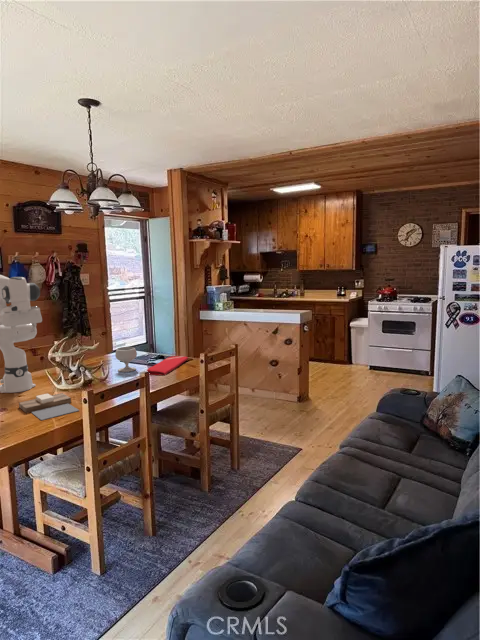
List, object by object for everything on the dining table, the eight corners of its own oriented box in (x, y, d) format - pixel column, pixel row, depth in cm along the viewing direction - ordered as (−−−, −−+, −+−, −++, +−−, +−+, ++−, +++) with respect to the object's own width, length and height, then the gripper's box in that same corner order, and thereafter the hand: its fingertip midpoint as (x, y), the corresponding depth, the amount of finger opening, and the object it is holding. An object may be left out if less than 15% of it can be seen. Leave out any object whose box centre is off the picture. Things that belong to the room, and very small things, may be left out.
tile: (36, 399, 225) (35, 395, 224) (48, 397, 229) (47, 393, 228) (41, 403, 218) (41, 399, 218) (54, 400, 222) (53, 397, 222)
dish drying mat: (142, 375, 280) (142, 369, 279) (169, 360, 319) (168, 355, 318) (165, 376, 276) (164, 370, 275) (189, 361, 315) (188, 356, 314)
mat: (31, 412, 212) (31, 411, 212) (68, 403, 224) (67, 403, 224) (41, 420, 201) (41, 419, 201) (79, 410, 213) (79, 410, 213)
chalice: (141, 369, 291) (140, 348, 289) (123, 374, 281) (122, 351, 279) (130, 366, 301) (129, 345, 299) (112, 370, 291) (110, 348, 289)
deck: (19, 407, 221) (18, 402, 220) (62, 397, 235) (62, 393, 235) (26, 413, 212) (25, 408, 212) (71, 402, 226) (70, 397, 226)
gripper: (35, 306, 237) (39, 330, 238) (-1, 309, 220) (3, 336, 221) (42, 305, 234) (46, 330, 235) (6, 308, 217) (10, 335, 218)
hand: (25, 333), depth 228 cm, fingers open, 8 cm apart
